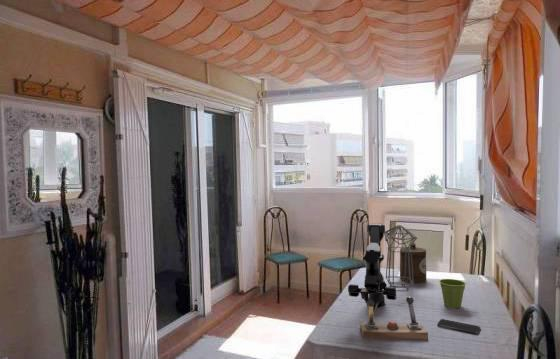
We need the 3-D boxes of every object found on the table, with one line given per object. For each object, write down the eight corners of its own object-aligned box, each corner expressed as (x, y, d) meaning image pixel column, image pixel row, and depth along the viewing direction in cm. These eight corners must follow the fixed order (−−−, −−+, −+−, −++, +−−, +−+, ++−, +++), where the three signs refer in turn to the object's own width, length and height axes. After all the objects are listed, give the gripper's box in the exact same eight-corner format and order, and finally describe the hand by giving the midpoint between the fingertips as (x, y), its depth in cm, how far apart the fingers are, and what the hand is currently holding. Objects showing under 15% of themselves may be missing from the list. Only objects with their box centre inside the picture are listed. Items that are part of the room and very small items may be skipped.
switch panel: (360, 328, 152) (359, 318, 151) (420, 329, 150) (420, 318, 150) (363, 338, 143) (363, 327, 142) (428, 339, 141) (427, 327, 141)
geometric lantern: (410, 285, 211) (410, 223, 210) (417, 294, 195) (418, 227, 194) (381, 284, 213) (382, 222, 211) (386, 293, 197) (387, 227, 196)
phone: (477, 333, 144) (436, 324, 153) (477, 336, 144) (436, 327, 153) (480, 326, 150) (441, 318, 159) (480, 329, 150) (441, 321, 159)
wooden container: (428, 284, 212) (427, 245, 212) (401, 282, 216) (400, 244, 216) (424, 277, 227) (424, 240, 227) (399, 275, 230) (398, 240, 230)
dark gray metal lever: (368, 322, 149) (367, 297, 147) (375, 322, 148) (374, 298, 146) (367, 326, 146) (366, 301, 144) (374, 326, 145) (374, 301, 143)
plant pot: (470, 311, 169) (469, 286, 169) (442, 309, 172) (441, 285, 172) (462, 302, 181) (462, 279, 181) (436, 301, 183) (436, 278, 183)
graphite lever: (409, 325, 147) (404, 296, 150) (415, 324, 147) (410, 296, 151) (412, 325, 144) (407, 296, 148) (419, 324, 144) (414, 296, 148)
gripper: (348, 265, 154) (345, 300, 144) (395, 267, 148) (395, 305, 138) (350, 278, 162) (348, 313, 152) (396, 281, 156) (396, 317, 146)
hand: (371, 312), depth 147 cm, fingers closed on dark gray metal lever
